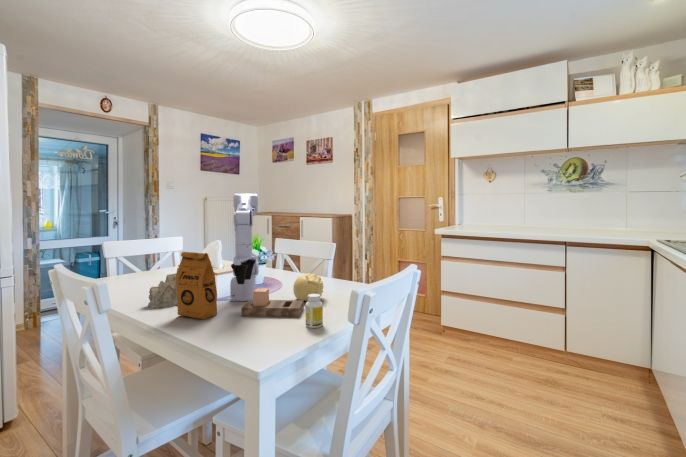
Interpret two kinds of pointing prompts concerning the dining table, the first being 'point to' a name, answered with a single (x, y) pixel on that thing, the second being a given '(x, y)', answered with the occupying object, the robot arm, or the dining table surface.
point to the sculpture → (307, 286)
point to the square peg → (261, 297)
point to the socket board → (274, 308)
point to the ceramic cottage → (164, 293)
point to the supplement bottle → (314, 311)
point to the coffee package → (196, 286)
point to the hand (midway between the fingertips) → (244, 281)
